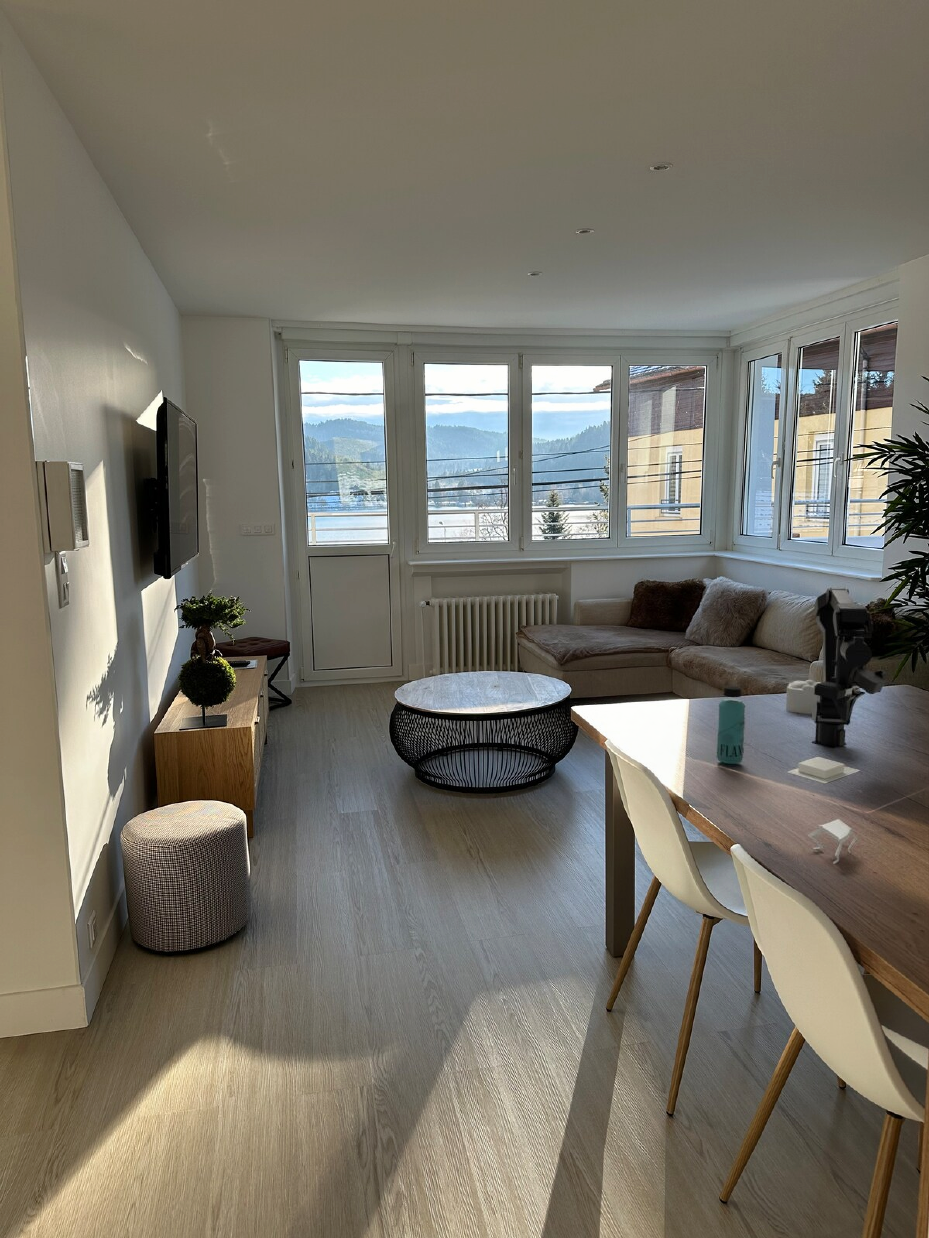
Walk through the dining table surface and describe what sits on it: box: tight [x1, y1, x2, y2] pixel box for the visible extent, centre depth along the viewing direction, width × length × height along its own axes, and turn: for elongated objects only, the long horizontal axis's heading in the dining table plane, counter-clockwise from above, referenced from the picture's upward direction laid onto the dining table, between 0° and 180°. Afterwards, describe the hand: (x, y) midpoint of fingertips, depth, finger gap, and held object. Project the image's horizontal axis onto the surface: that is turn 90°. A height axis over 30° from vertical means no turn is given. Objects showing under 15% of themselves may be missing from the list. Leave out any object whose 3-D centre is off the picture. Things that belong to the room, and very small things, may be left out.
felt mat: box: [787, 765, 862, 784], centre depth 204 cm, size 10×15×1 cm, turn 125°
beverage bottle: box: [715, 685, 746, 765], centre depth 208 cm, size 6×7×20 cm
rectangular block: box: [797, 756, 846, 779], centre depth 203 cm, size 7×2×8 cm
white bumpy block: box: [785, 679, 822, 715], centre depth 260 cm, size 10×13×9 cm
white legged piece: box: [807, 818, 858, 865], centre depth 159 cm, size 12×8×5 cm
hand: (844, 719), depth 207 cm, fingers closed
